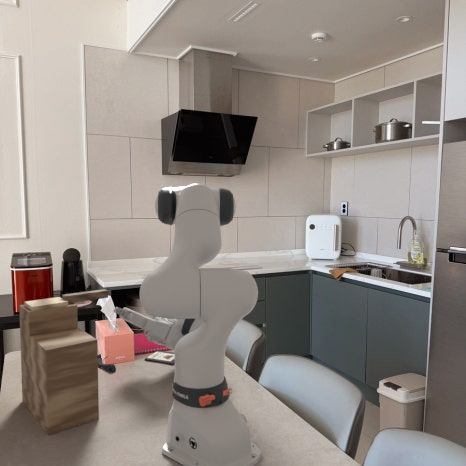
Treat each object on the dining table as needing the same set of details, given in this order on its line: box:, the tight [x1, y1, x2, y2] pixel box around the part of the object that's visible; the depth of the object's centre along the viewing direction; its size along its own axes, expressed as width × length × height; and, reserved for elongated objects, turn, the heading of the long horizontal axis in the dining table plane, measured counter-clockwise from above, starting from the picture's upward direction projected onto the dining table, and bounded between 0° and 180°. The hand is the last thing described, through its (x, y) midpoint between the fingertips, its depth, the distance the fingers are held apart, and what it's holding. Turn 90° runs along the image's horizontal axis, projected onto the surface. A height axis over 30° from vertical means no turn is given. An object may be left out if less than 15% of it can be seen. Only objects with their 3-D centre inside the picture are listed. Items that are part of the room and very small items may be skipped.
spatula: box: [23, 288, 109, 311], centre depth 121 cm, size 21×7×2 cm, turn 129°
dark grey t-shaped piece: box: [98, 353, 117, 373], centre depth 144 cm, size 14×15×3 cm
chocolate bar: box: [144, 350, 175, 366], centre depth 151 cm, size 9×1×18 cm
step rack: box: [18, 302, 100, 436], centre depth 114 cm, size 22×12×26 cm, turn 39°
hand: (122, 312), depth 131 cm, fingers open, 8 cm apart
